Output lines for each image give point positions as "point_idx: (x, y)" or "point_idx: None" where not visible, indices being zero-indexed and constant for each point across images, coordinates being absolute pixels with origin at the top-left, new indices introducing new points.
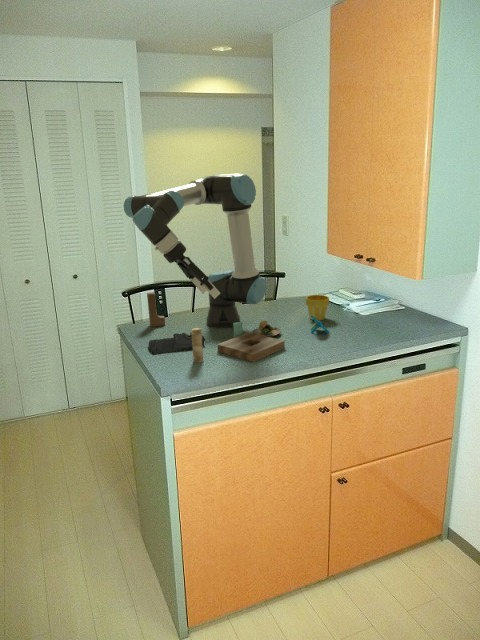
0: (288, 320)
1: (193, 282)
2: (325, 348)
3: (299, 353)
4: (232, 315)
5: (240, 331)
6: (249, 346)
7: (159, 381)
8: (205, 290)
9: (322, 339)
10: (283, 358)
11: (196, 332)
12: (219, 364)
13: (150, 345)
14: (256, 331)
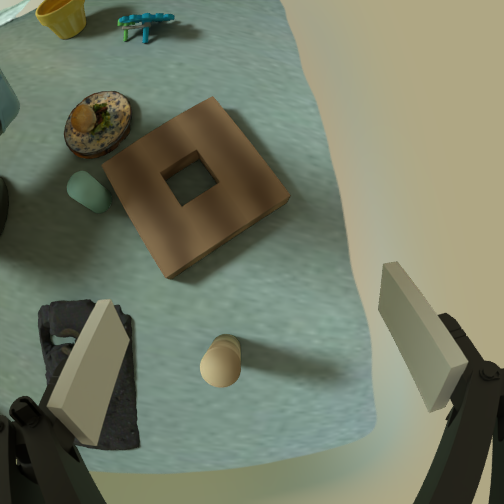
0: (46, 74)
1: (100, 425)
2: (251, 44)
3: (263, 90)
4: None
5: (100, 187)
6: (221, 189)
7: (330, 448)
8: (119, 323)
9: (194, 34)
10: (284, 129)
11: (240, 370)
12: (272, 295)
13: (96, 447)
14: (75, 145)
